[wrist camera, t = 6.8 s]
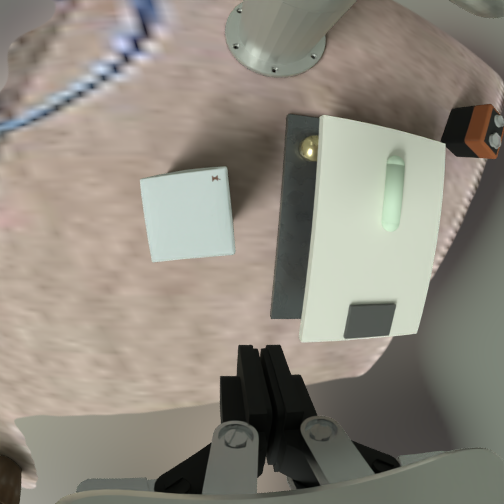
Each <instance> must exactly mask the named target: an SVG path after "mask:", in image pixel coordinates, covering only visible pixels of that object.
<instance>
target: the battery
mask: <svg viewBox="0 0 504 504" xmlns="http://www.w3.org/2000/svg"><path fill="white" fill-rule="evenodd" d="M503 133H504V119H503V117H502V116H501V115H500V114H499V113H498V111H497V110H496V109H495V108H494V107H493V106H492V105H491V104H485V105H477V106H469V107H462V108H455V109H452V111H451V114H450V117H449V120H448V123H447V125H446V128H445V131H444V134H443V137H442V140H441V142H442V143H445V144H446V147H447V148H448V149H449V150H450V151H451V152H452V153H453V154H454V155H455V156H457V157H473V158H489V159H496V158H497V155H498V152H499V148H500V146H501V141H502V137H503Z"/></svg>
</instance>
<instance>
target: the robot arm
mask: <svg viewBox="0 0 504 504" xmlns="http://www.w3.org/2000/svg"><path fill="white" fill-rule="evenodd" d="M356 1H357V0H243V2H242V3H240V4H239V5H238V6H236V7H235V8H234V10H233V11H232V12H231V13H230V15H229V17H228V19H227V23H226V27H225V37H226V43H227V45H228V48H229V50H230V52H231V53H232V55H233V56H234V57H235V58H236V60H237V61H238V62H239V63H240V64H242V65H243V66H245V67H246V68H247V69H249V70H251V71H253V72H255V73H258V74H261V75H264V76H268V77H274V78H286V77H292V76H296V75H299V74H302V73H304V72H305V71H307V70H309V69H310V68H311V67H313V66H314V65H315V64H316V63H317V62H318V61H319V59H320V58H321V56H322V54H323V52H324V49H325V45H326V36H325V34H326V33H327V32H328V31H329V30H330V29H331V28H332V26H333V25H334V24H335V23H336V22H337V21H338V20H339V19H340V18H341V17H342V16H343V15H344V14H345V13H346V12H347V11H348V10H349V9H350V8H351V6H352V5H353V4H354V3H355V2H356ZM449 1H451V2H452V3H454V4H456V5H457V6H459V7H460V8H462V9H464V10H466V11H467V12H469V13H472V14H474V15H476V16H480V17H484V18H493V19H494V18H501V17H504V0H449ZM238 12H240V13H238ZM235 47H237V48H238V49H234V48H235ZM311 57H313V58H314V59H312V58H311ZM272 70H275V73H274V72H272ZM220 416H221V424H220V425H219V426H218V427H217V428H216V429H215V431H214V433H213V438H212V443H210V444H209V445H207V446H206V447H204V448H203V449H201V450H200V451H198V452H197V453H196V454H194V455H192V456H191V457H189V458H188V459H186V460H185V461H183V462H182V463H180V464H179V465H177V466H175V467H174V468H172V469H171V470H169V471H168V472H166V473H164V474H163V475H161V476H160V477H159V478H158V479H154V480H147V478H124V479H87V480H85V481H83V482H81V483H80V484H79V486H78V487H77V491H76V493H74V494H70V495H67V496H65V497H63V498H61V499H60V500H59V501H58V502H57V503H56V504H504V460H503V459H502V458H501V457H500V456H499V455H497V454H496V453H495V452H493V451H492V450H489V449H486V448H464V449H458V450H453V451H449V452H445V451H437V452H429V453H422V454H414V455H404V456H399V457H398V458H397V459H395V458H394V457H392V456H390V455H388V454H385V453H382V452H380V451H377V450H374V449H371V448H369V447H367V446H364V445H362V444H359V443H357V442H354V441H352V440H350V438H349V437H348V436H347V434H346V433H345V431H344V430H343V428H342V427H341V426H340V424H339V423H338V422H337V421H335V420H334V419H332V418H329V417H326V416H317V413H316V411H315V408H314V406H313V403H312V401H311V399H310V396H309V394H308V391H307V389H306V386H305V384H304V381H303V379H302V377H301V375H291V373H290V370H289V367H288V365H287V362H286V359H285V356H284V354H283V351H282V348H281V346H280V345H266V348H263V349H261V354H260V356H259V352H258V349H253V346H252V345H239V346H238V361H237V376H220ZM265 458H267V463H268V465H273V467H274V472H281V473H282V474H284V475H286V476H287V481H288V484H289V486H290V489H291V490H289V491H281V492H269V493H257V478H258V477H259V476H260V475H261V474H262V472H263V467H264V464H265Z"/></svg>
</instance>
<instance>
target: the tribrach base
mask: <svg viewBox="0 0 504 504" xmlns="http://www.w3.org/2000/svg"><path fill="white" fill-rule="evenodd" d="M319 122H320V118H314V117H308V116H300V115H293V114H288V115H287V117H286V132H285V147H284V161H283V175H282V188H281V200H280V213H279V224H278V236H277V247H276V259H275V269H274V280H273V290H272V301H271V311H270V317H271V319H301V317H302V310H303V302H304V294H305V286H306V278H307V269H308V260H309V251H310V242H311V232H312V221H313V210H314V198H315V186H316V172H317V157H318V141H319Z"/></svg>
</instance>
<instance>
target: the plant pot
mask: <svg viewBox="0 0 504 504" xmlns="http://www.w3.org/2000/svg"><path fill="white" fill-rule="evenodd" d="M20 493H21V469H20V467H19V466H18V465H17V464H16V463H15V462H14V461H12V460H11V459H9V458H8V457H6V456H3V455H0V504H19V502H20Z"/></svg>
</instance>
